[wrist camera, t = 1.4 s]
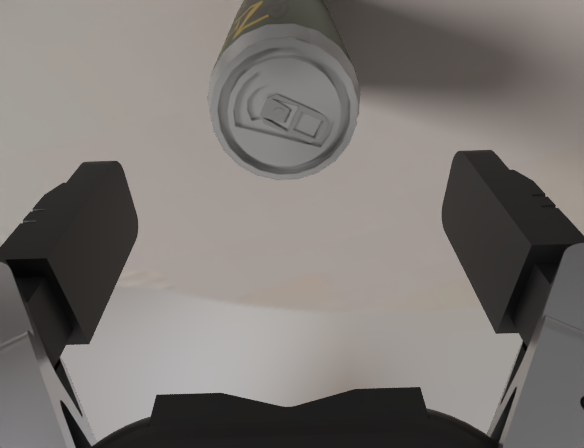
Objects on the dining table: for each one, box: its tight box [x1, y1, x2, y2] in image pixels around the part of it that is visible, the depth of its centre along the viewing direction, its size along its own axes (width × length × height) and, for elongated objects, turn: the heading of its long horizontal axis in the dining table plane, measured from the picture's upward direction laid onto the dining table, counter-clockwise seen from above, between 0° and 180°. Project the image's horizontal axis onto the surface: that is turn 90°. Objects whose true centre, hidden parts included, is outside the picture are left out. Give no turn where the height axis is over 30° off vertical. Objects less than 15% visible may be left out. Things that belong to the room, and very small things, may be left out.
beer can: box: [207, 0, 360, 180], centre depth 19 cm, size 5×5×12 cm
